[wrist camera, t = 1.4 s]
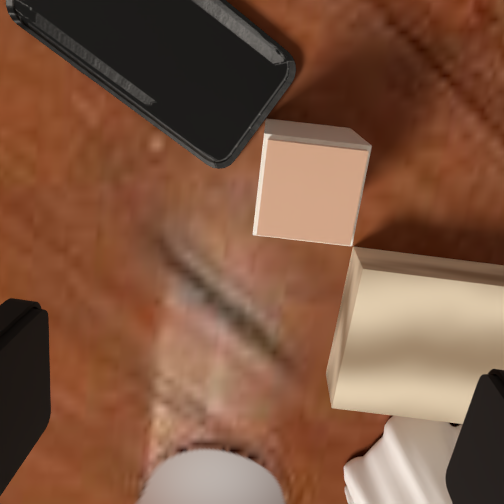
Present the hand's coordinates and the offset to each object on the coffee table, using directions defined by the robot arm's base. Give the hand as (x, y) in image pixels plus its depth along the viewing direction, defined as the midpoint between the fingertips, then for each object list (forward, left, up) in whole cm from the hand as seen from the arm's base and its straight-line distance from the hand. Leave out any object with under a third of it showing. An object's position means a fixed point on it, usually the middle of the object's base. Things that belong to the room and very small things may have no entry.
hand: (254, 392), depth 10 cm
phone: (-7, -7, -21) cm, 23 cm away
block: (+9, +11, -21) cm, 25 cm away
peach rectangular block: (-1, +2, -21) cm, 21 cm away
